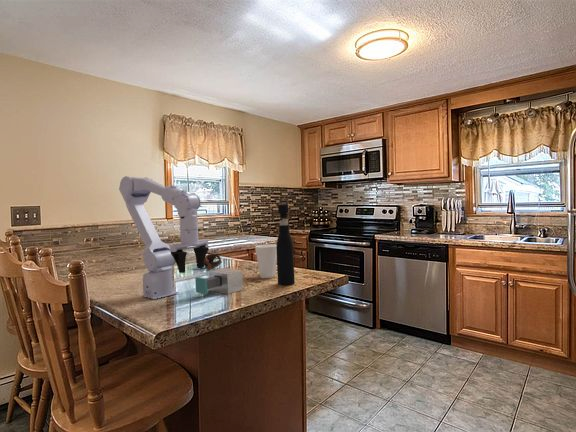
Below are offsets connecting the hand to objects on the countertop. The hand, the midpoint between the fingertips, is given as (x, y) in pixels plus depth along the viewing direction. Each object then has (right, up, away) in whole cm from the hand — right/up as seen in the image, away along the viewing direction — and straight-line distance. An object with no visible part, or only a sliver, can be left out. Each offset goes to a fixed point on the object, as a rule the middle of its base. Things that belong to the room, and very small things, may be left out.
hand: (191, 270), depth 115 cm
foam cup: (+24, -8, +30) cm, 39 cm away
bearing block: (+10, -9, +10) cm, 17 cm away
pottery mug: (-6, -8, +54) cm, 55 cm away
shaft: (+6, -8, +5) cm, 11 cm away
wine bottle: (+32, -8, +16) cm, 36 cm away
